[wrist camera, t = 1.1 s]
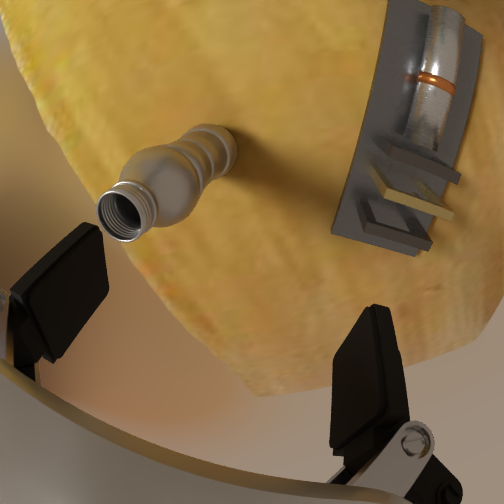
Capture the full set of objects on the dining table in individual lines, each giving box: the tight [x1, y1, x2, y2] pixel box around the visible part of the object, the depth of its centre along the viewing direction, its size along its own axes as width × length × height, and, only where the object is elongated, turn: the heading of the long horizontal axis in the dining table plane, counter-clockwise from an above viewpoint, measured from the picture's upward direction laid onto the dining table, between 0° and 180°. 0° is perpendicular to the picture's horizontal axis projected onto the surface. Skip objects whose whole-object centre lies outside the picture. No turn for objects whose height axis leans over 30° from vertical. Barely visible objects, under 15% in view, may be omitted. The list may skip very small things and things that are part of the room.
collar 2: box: [357, 201, 433, 251], centre depth 30 cm, size 1×8×6 cm, turn 80°
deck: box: [331, 0, 483, 257], centre depth 27 cm, size 31×12×1 cm, turn 170°
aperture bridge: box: [369, 166, 455, 222], centre depth 27 cm, size 1×8×8 cm, turn 81°
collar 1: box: [377, 136, 461, 185], centre depth 25 cm, size 1×8×6 cm, turn 80°
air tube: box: [403, 5, 465, 152], centre depth 21 cm, size 16×4×4 cm, turn 170°
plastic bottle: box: [96, 124, 237, 242], centre depth 25 cm, size 6×7×20 cm
